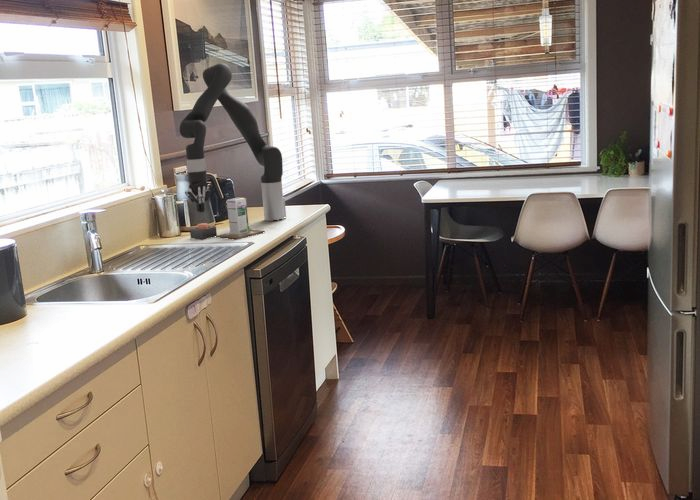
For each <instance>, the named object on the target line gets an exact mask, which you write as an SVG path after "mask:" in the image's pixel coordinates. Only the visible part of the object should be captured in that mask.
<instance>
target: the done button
mask: <svg viewBox="0 0 700 500" xmlns="http://www.w3.org/2000/svg"><path fill="white" fill-rule="evenodd" d="M208 226H209V224H208V223H207V222H205V223H204V222H203V223H198V224H197V225H196V227H197V228H198V229H206V228H208Z"/></svg>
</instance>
